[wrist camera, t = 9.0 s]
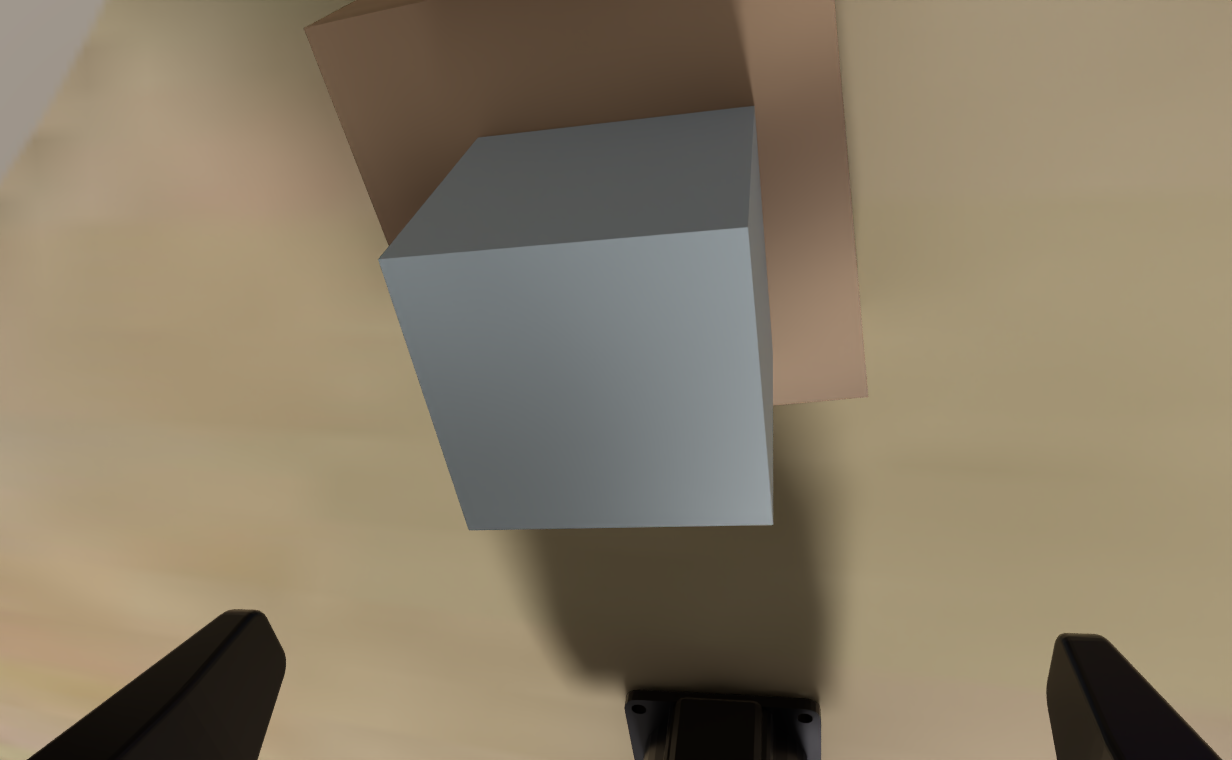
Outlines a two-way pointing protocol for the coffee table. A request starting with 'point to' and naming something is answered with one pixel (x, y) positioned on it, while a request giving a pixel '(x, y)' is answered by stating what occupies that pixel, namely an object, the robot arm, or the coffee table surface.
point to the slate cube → (597, 325)
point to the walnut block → (618, 91)
